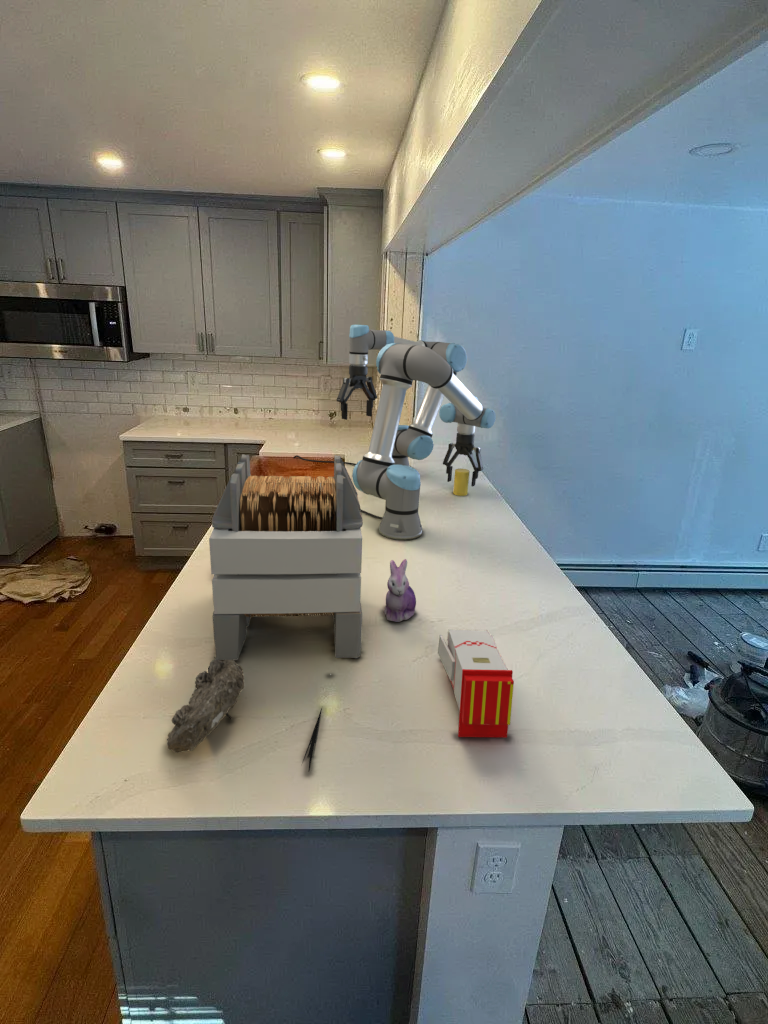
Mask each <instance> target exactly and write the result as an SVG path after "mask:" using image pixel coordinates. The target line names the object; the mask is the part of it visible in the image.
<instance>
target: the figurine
mask: <svg viewBox="0 0 768 1024" xmlns="http://www.w3.org/2000/svg"><path fill="white" fill-rule="evenodd" d="M407 567H408V559H406V558H404V559H403V560H402V561H401V563H400V565H399V566H398V565H397V563H396V562H395V561H394V560H393V559H391V560H390V561H389V570H390V576H389V578H388V579H387V589H388V591H387V592H386V594H385V595H386V596H385V607H384V615H385V616H386V620H387V621H391V622H395V623H400V622H402V621H406V620H409V619H410V618H411V617H413V616H414V615H415V610H416V606H417V597H416V593H415V591H414V590H413V587H411V586H410V582H409V579H408V577H407V574H406V571H407Z"/></svg>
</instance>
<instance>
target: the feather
mask: <svg viewBox="0 0 768 1024" xmlns="http://www.w3.org/2000/svg"><path fill="white" fill-rule="evenodd" d="M329 675H330V676H331V675H332V674H331V673H330V674H329ZM322 710H323V707H321V708H320V710H319V713H318V716H317V719H316V723H315V725H314V728H313V731H312V733H311V737H310V739H309V742H308V745H307V748H306V751H305V754H304V757H303V760H302V763H301V767H302V765H303V763H304V761H305V758H308V759H309V760H308V762H307V763H308V764H307V766H308V771H310V770H311V766H312V765H311V764H312V760H313V757H315V756H314V755H315V751H316V749H315V746H317V739H318V733H319V729H320V722H321V717H322V712H323V711H322ZM313 754H314V755H313ZM306 755H307V757H306Z"/></svg>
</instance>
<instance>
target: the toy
mask: <svg viewBox="0 0 768 1024" xmlns="http://www.w3.org/2000/svg"><path fill="white" fill-rule="evenodd" d="M446 640H447V643H446V641H445V639H444V636H443V635H442V634H439V637H438V646H437V656H438V657H439V659H440V661H441V663H442V666H443V668H444V670H445V672H446V674H447V677H448V679H449V681H450V684H451V687H452V690H453V693H454V697H455V701H456V705H457V708H458V711H459V714H458V715H459V716H458V730H457V731H458V732H457V737H458V738H508V731H509V726H510V725H511V717H512V707H513V697H514V696H513V695H514V684H515V680H514V679H513V673H514V671H513V670H512V669H508V667H507V665H506V662H505V661H504V659H503V658H502V655H501V653H500V651H499V649H498V647H497V643H496V639H495V637H494V635H493V634H491V632H490V631H489V629H467V628H466V629H465V628H463V629H461V628H460V629H459V628H448V630H447V639H446Z"/></svg>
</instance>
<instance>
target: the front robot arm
mask: <svg viewBox="0 0 768 1024" xmlns="http://www.w3.org/2000/svg"><path fill="white" fill-rule="evenodd" d="M375 367H376V370H377V372H378V374H379V381H380V383H381V384H382V385H381V391H380V395H379V400H378V405H377V409H376V415H375V419H374V425H373V428H372V433H371V438H370V442H369V447H368V451H367V452H366V453H364V454H363V455H362V459H360V460H358V461H357V462H356V464H357V465H354V466H353V470H352V475H351V476H352V477H351V478H352V483H353V485H354V487H355V489H356V490H358V491H359V492H362V493H364V494H365V495H369V496H372V497H375V498H378V499H381V500H384V501H385V504H384V505H385V507H384V508H385V509H384V513H383V515H382V516H379V515H376V514H373V513H370V512H369V511H365V510H363V509H361V513H363V514H365V515H368V516H370V517H373V518H375V519H379V520H381V522H379V527H378V533H379V534H380V535H381V536H382V537H385V538H387V539H389V540H395V541H410V540H415V539H418V538H420V537H421V536H422V535H423V525H422V524H421V518H420V515H419V507H420V506H419V505H420V496H421V495H420V494H421V482H422V481H421V474H420V471H418V470H417V468H414V467H413V466H411V465H410V466H411V467H410V466H406V465H404V466H403V465H398V464H397V465H394V463H395V462H394V460H393V458H392V453H393V448H394V444H395V439H396V435H397V430H398V426H399V425H400V421H401V417H402V412H403V407H404V404H405V403H404V402H405V398H406V394H407V391H408V390H409V389H410V388H412V387H413V382H414V381H418V382H422V383H425V384H427V385H430V386H431V387H432V388H434V389H438V390H439V391H440V392H441V393H442V394H443V395H444V398H446V399H447V400H448V401H449V402H448V403H445V404H443V405H441V406H440V409H439V411H438V413H439V414H438V415H439V418H440V420H441V422H443V423H446V424H448V423H449V424H452V423H457V424H456V425H457V427H456V438H455V443H453V442H450V443H448V449H447V451H446V454H445V456H444V459H443V461H442V465H443V466H445V467H446V468H445V469H446V470H445V473H446V474H447V480H446V481H447V483H450V482H451V481H452V479H453V478H452V476H453V466H452V464H453V463H454V462H455V460H456V459H457V458H458V457H459V455H463V456H466V457H467V458H468V461H469V462H470V464H471V467H472V469H473V471H472V474H471V475H472V476H471V483H470V484H471V485H470V487H473V488H474V487H475V486H476V480H477V479H478V478H479V472H482V471H483V470H484V464H483V459H482V454H481V451H482V448H481V446H475V437H476V436H475V433H476V427H477V428H480V429H491V428H492V427H493V426H494V425H495V422H496V419H497V415H496V412H495V410H494V409H491V408H489V407H487V408H486V407H485V406H484V405H482V403H481V402H480V401H479V398H478V397H477V396H475V395H474V394H473V393H472V392H471V391H470V390H469V389H468V388H467V387H466V386H465V385H464V384H463V382H461V380H460V379H459V378H458V377H457V375H456V376H455V375H454V374H453V369H452V367H451V366H450V365H449V364H448V363H447V362H446V361H445V360H444V359H443V358H442V357H441V356H440V355H439V354H437V353H436V352H435V351H433V350H432V349H430V348H428V347H425V346H421V345H410V344H403V343H390V344H387V345H386V346H385V347H383V348H382V349H381V350H380V351H378V354H377V356H376V360H375ZM454 448H455V450H456V451H455V452H454V454H452V452H453V450H454ZM473 451H474V452H473ZM474 453H475V457H474ZM450 457H451V458H450Z"/></svg>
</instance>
